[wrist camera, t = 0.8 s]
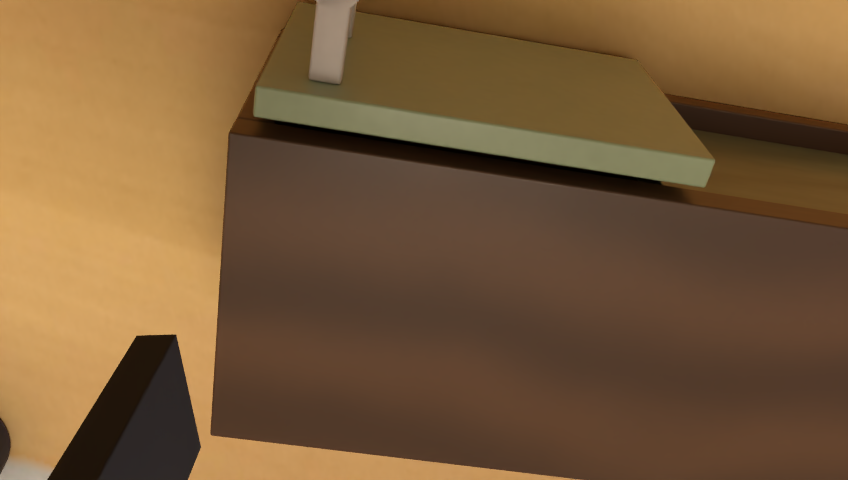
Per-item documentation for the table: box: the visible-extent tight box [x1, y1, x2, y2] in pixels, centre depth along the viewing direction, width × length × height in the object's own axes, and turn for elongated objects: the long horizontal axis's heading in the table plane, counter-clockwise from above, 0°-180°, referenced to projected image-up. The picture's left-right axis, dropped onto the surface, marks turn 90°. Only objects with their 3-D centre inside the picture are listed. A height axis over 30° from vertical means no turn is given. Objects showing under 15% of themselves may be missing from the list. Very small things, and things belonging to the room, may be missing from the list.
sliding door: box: [253, 0, 715, 188], centre depth 28 cm, size 5×14×10 cm, turn 80°
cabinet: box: [211, 30, 848, 480], centre depth 33 cm, size 12×28×11 cm, turn 80°
